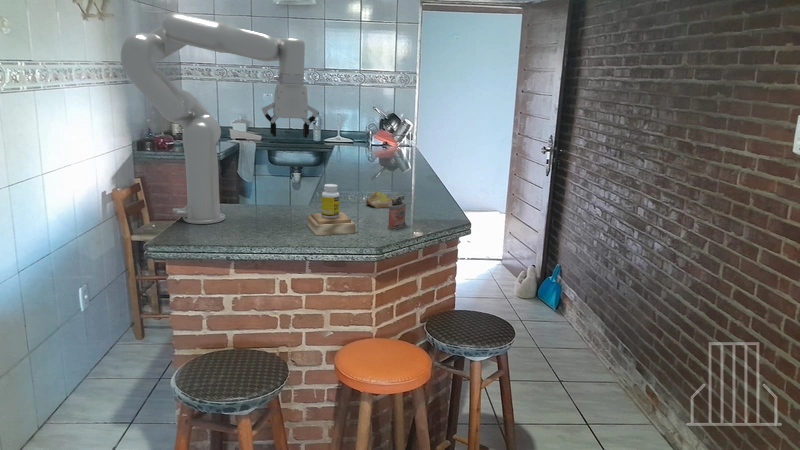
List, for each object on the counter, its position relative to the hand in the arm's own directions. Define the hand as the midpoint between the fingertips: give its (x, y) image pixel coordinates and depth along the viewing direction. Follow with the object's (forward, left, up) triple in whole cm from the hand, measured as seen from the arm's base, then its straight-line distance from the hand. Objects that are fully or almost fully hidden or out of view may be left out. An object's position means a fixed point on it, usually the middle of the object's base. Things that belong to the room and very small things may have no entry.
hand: (289, 136), depth 186 cm
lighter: (+31, -16, -27) cm, 44 cm away
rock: (+36, +15, -27) cm, 47 cm away
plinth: (+10, -14, -27) cm, 32 cm away
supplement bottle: (+10, -14, -23) cm, 28 cm away
